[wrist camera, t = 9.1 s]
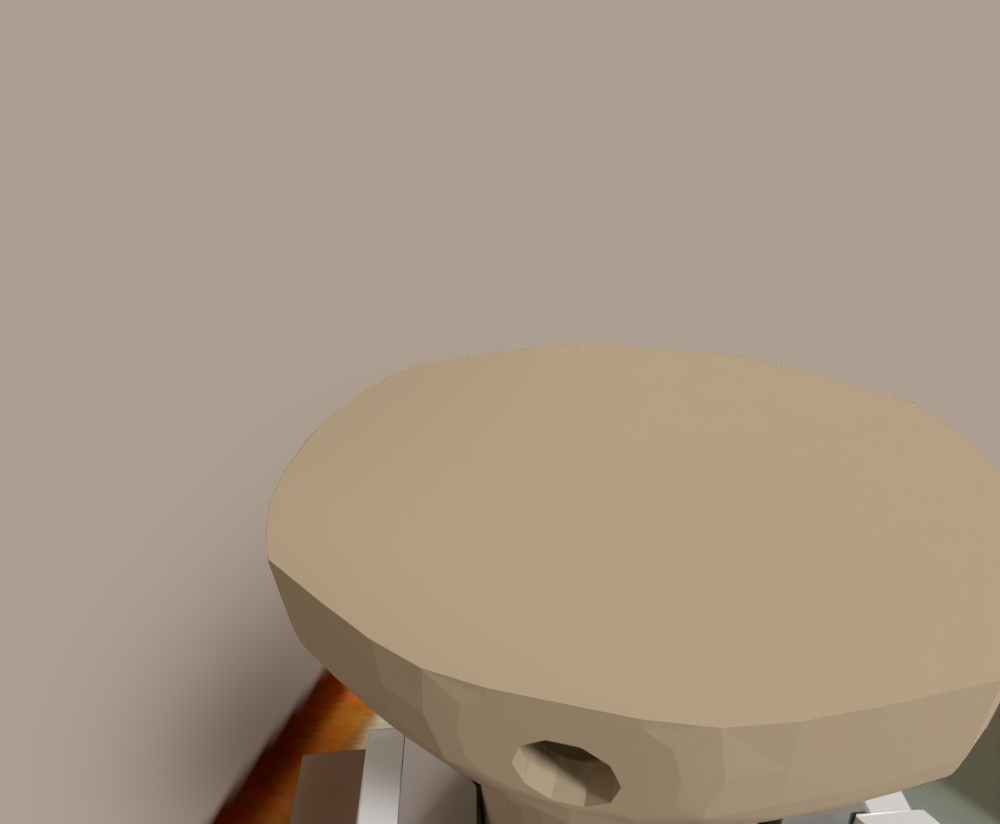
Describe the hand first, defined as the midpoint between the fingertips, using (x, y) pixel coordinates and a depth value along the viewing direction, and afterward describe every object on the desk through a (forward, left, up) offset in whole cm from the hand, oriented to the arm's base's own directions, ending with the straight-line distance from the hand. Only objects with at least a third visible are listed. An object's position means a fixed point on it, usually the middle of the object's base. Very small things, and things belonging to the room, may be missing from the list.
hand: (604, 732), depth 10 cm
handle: (0, +1, -10) cm, 10 cm away
